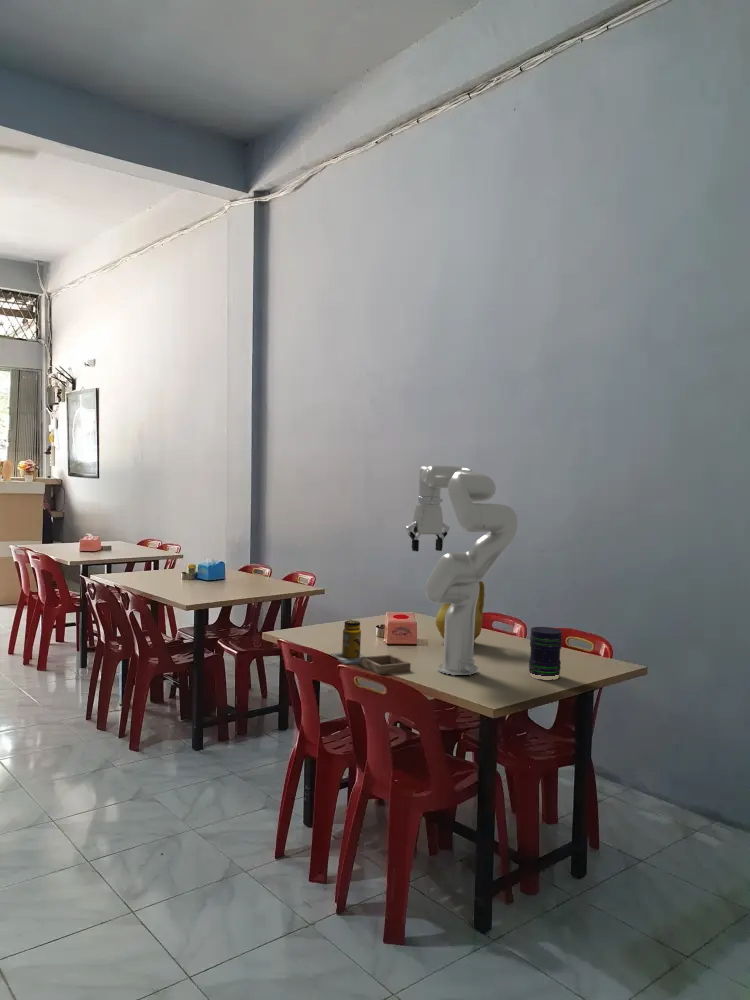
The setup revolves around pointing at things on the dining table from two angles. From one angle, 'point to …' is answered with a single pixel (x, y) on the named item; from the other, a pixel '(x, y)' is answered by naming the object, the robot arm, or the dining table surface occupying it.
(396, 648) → the dining table surface
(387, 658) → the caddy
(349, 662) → the mat
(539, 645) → the storage jar
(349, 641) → the condiment
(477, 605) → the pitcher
